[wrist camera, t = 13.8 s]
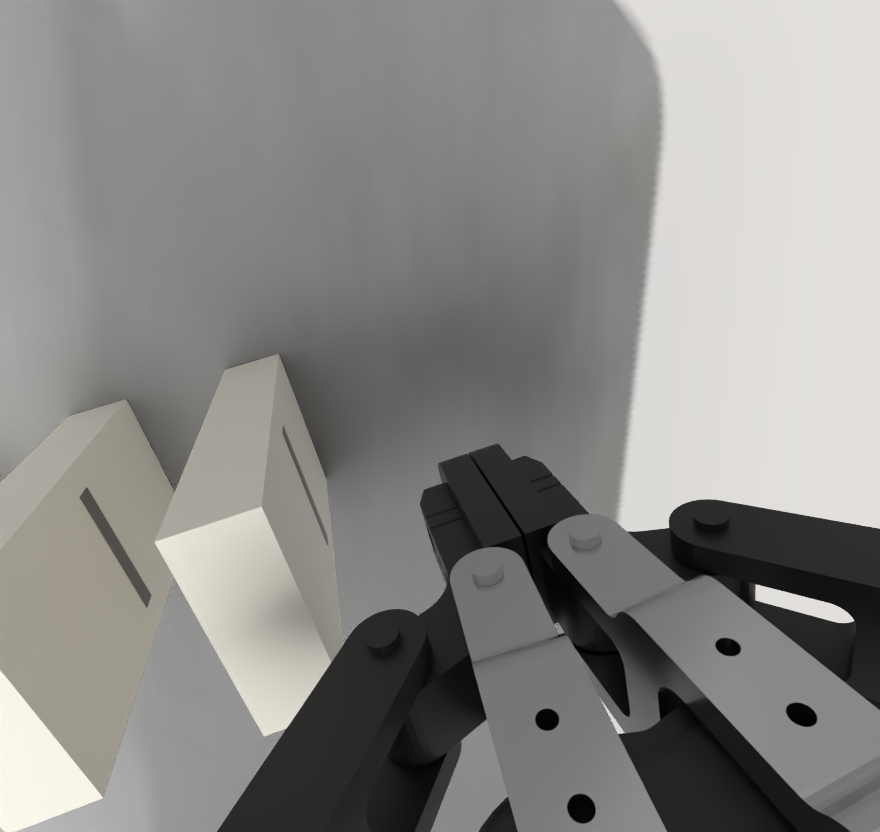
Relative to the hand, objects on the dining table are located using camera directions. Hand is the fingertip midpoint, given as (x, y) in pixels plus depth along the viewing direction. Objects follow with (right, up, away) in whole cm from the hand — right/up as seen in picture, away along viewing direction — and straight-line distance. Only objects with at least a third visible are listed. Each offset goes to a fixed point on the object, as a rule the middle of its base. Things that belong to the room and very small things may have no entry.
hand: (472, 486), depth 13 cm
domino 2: (-6, +1, +6) cm, 9 cm away
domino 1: (-11, 0, +5) cm, 12 cm away
